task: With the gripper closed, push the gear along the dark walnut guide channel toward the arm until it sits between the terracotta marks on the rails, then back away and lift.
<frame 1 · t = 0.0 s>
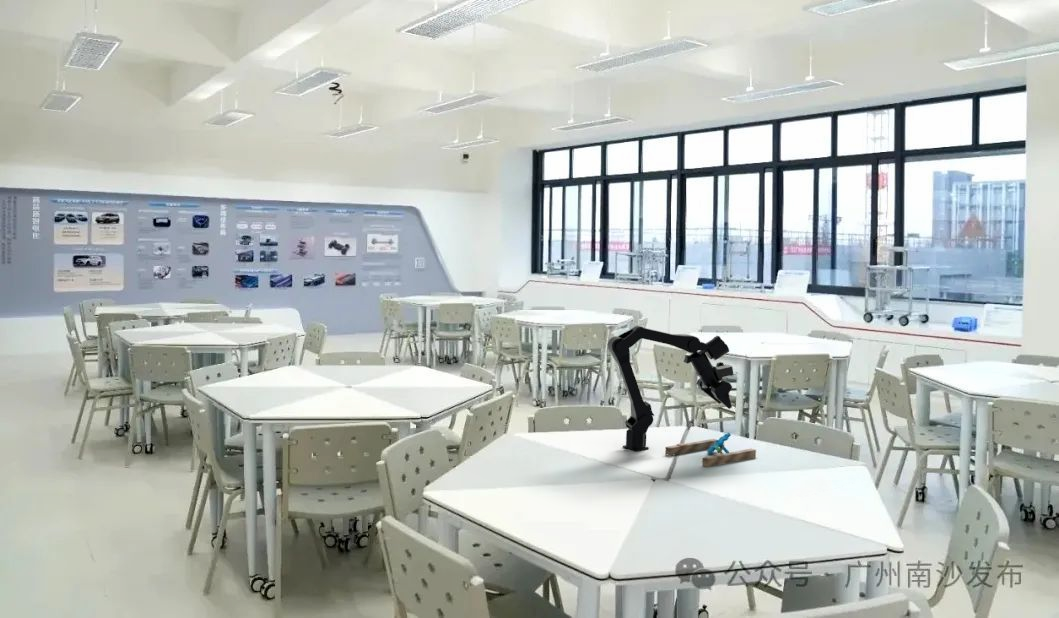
hand: (725, 405, 276), 15 cm above the table, tool tilted 35°, fingers open, 9 cm apart
guide channel: (710, 455, 266), on the table
gear: (718, 455, 268), on the table
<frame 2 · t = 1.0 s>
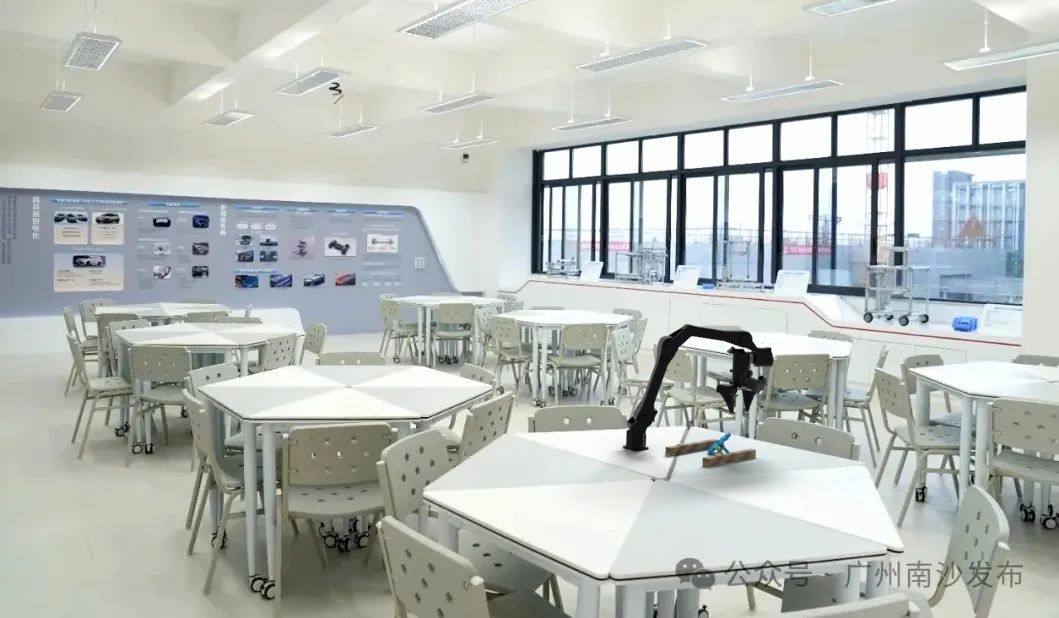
hand: (739, 412, 273), 13 cm above the table, tool pointing down, fingers open, 8 cm apart
nothing on the table moved.
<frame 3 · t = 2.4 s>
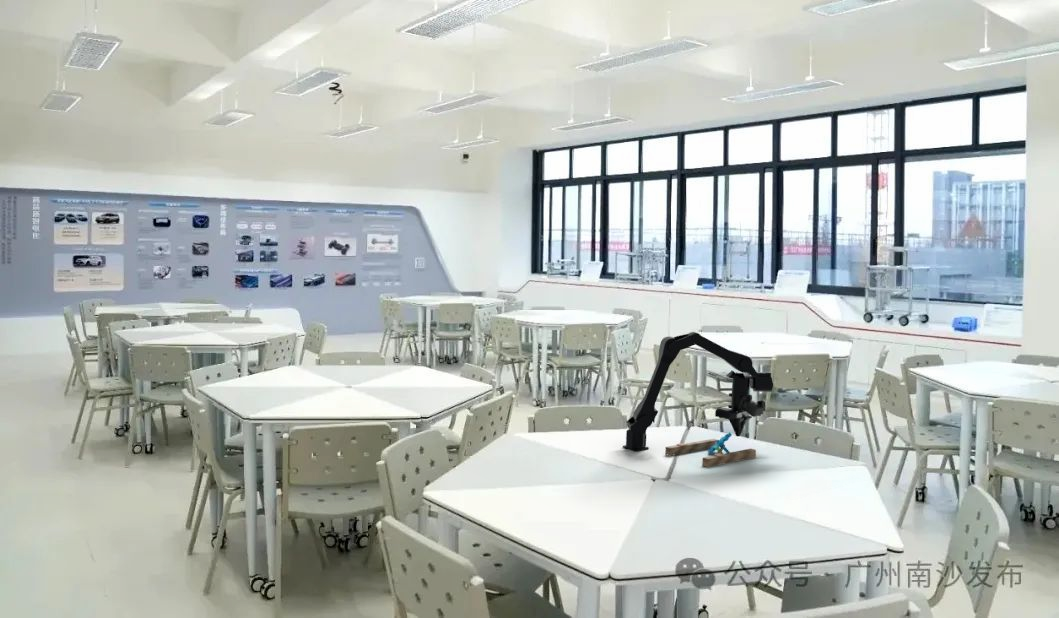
hand: (738, 436, 274), 5 cm above the table, tool pointing down, fingers closed
nothing on the table moved.
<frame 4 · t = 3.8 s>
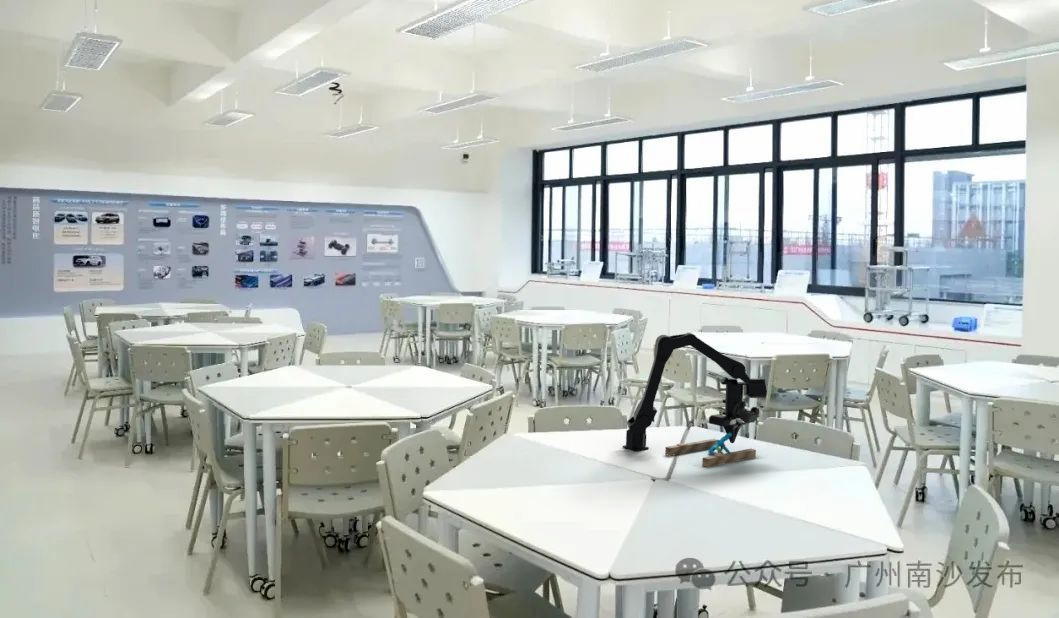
hand: (732, 442, 272), 3 cm above the table, tool pointing down, fingers closed
gear: (719, 455, 268), on the table, touching gripper
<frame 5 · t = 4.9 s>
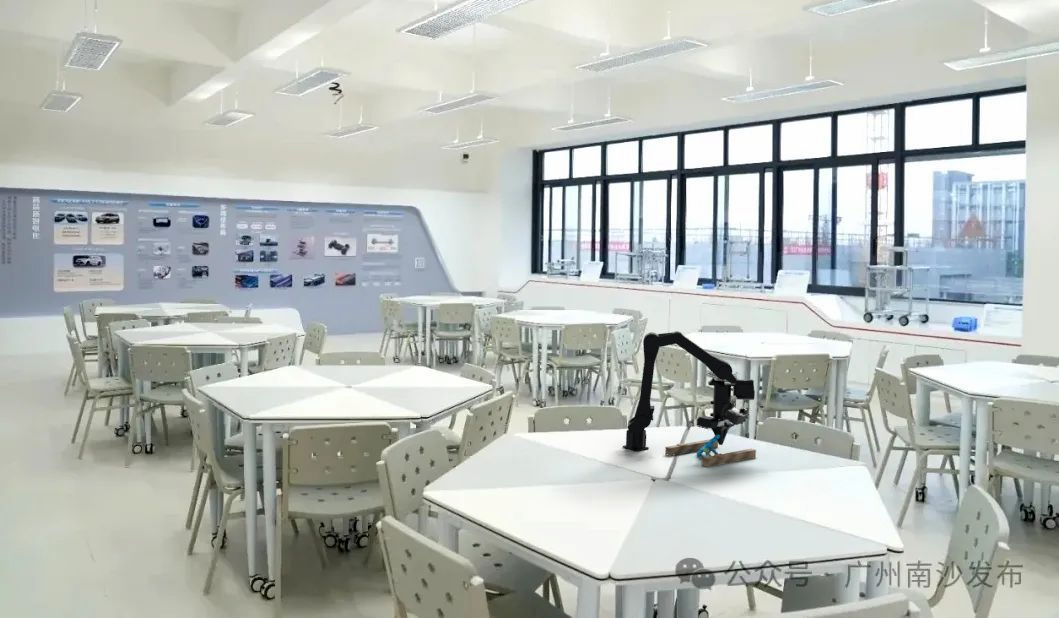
hand: (720, 444, 268), 3 cm above the table, tool pointing down, fingers closed
gear: (707, 457, 264), on the table, touching gripper
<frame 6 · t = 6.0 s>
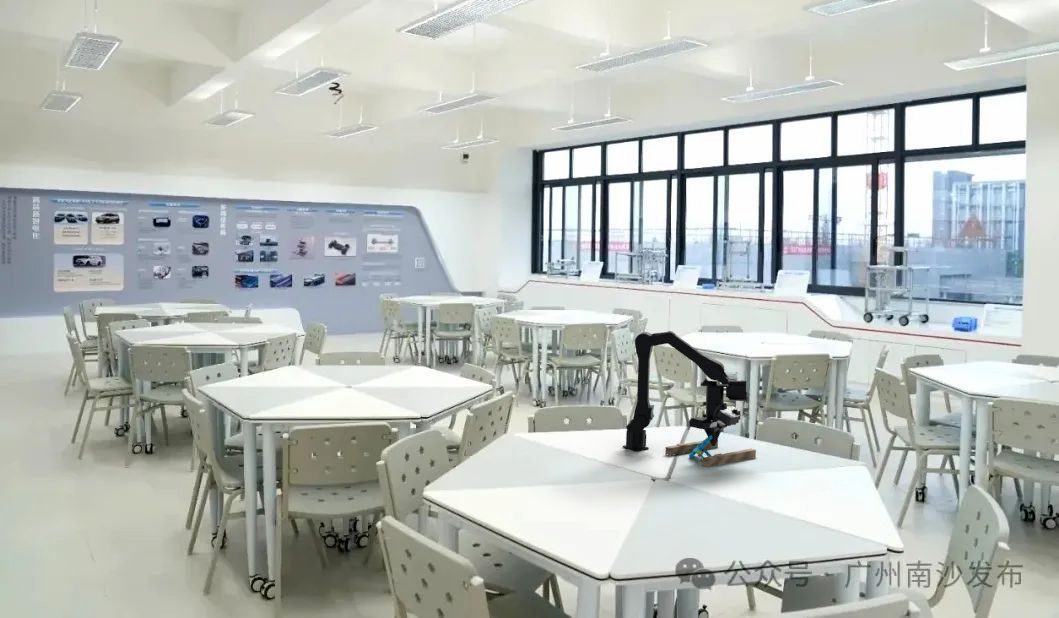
hand: (713, 445, 266), 3 cm above the table, tool pointing down, fingers closed
gear: (700, 458, 262), on the table, touching gripper
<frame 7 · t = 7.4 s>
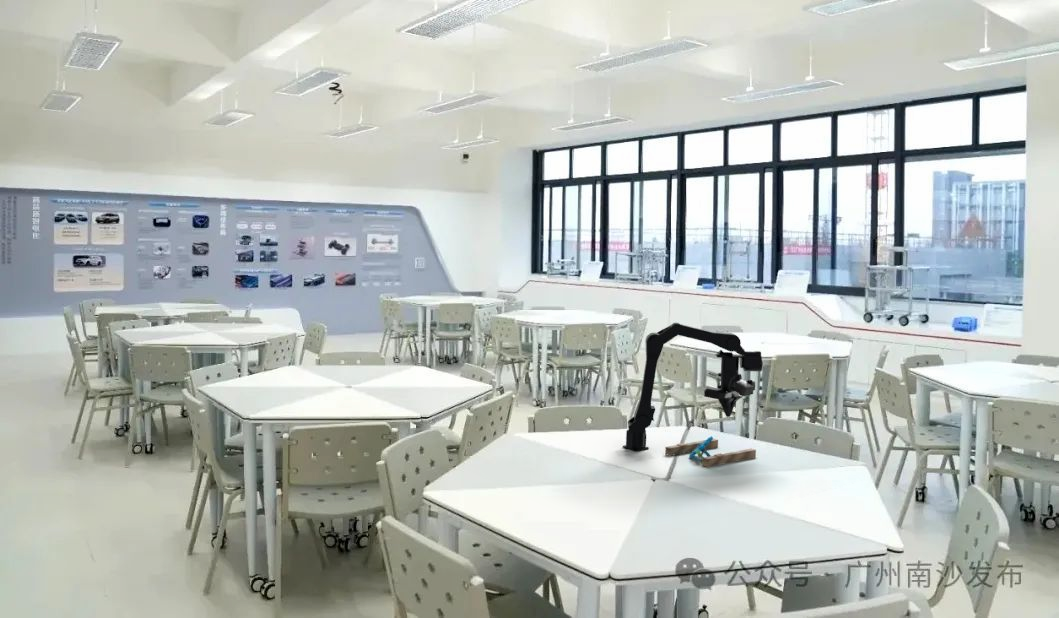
hand: (728, 416, 269), 12 cm above the table, tool pointing down, fingers closed
gear: (700, 459, 262), on the table
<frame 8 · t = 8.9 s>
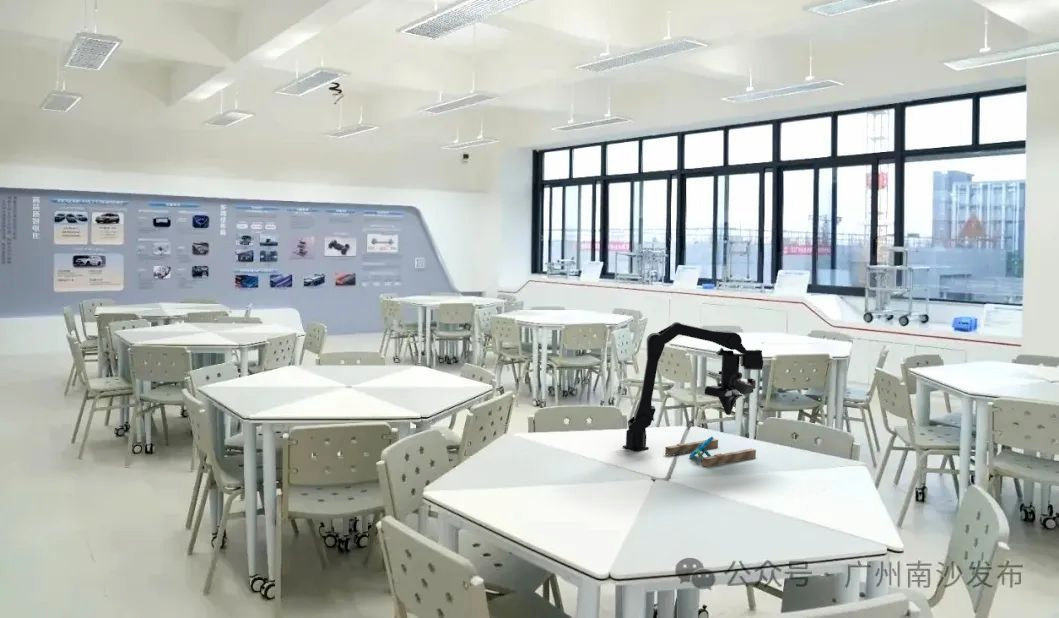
hand: (728, 414, 270), 13 cm above the table, tool pointing down, fingers closed
nothing on the table moved.
at the end: gear 1.1 cm from the target spot, on the table; gear tilted 0° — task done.
